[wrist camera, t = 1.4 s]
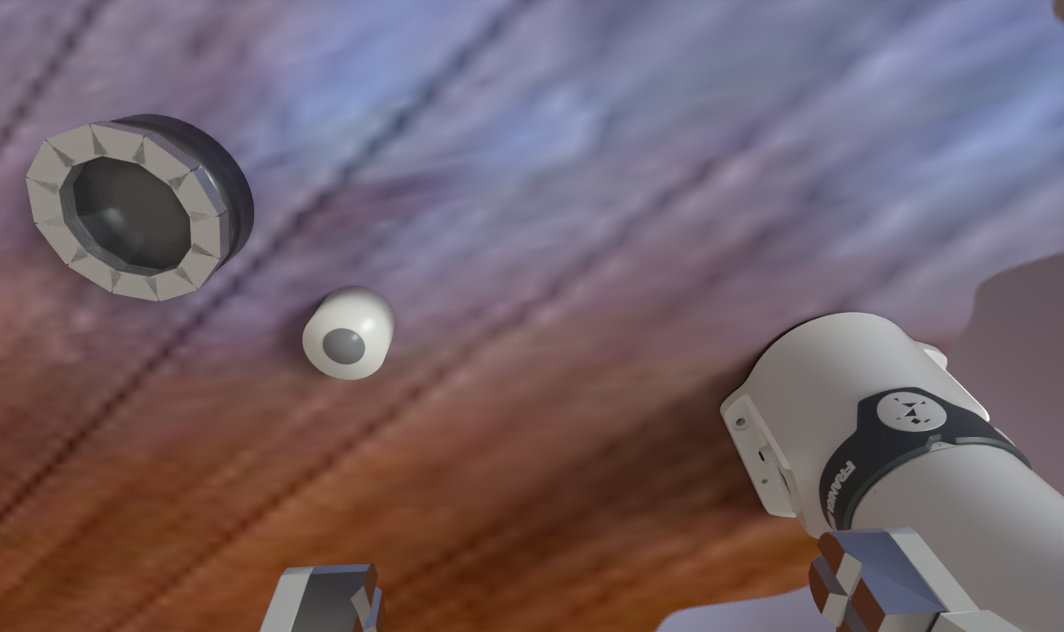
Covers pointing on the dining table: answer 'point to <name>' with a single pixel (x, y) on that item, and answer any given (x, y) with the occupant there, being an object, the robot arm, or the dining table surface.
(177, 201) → the lens barrel
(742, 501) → the dining table surface
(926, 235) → the dining table surface
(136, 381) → the dining table surface
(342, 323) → the cap
